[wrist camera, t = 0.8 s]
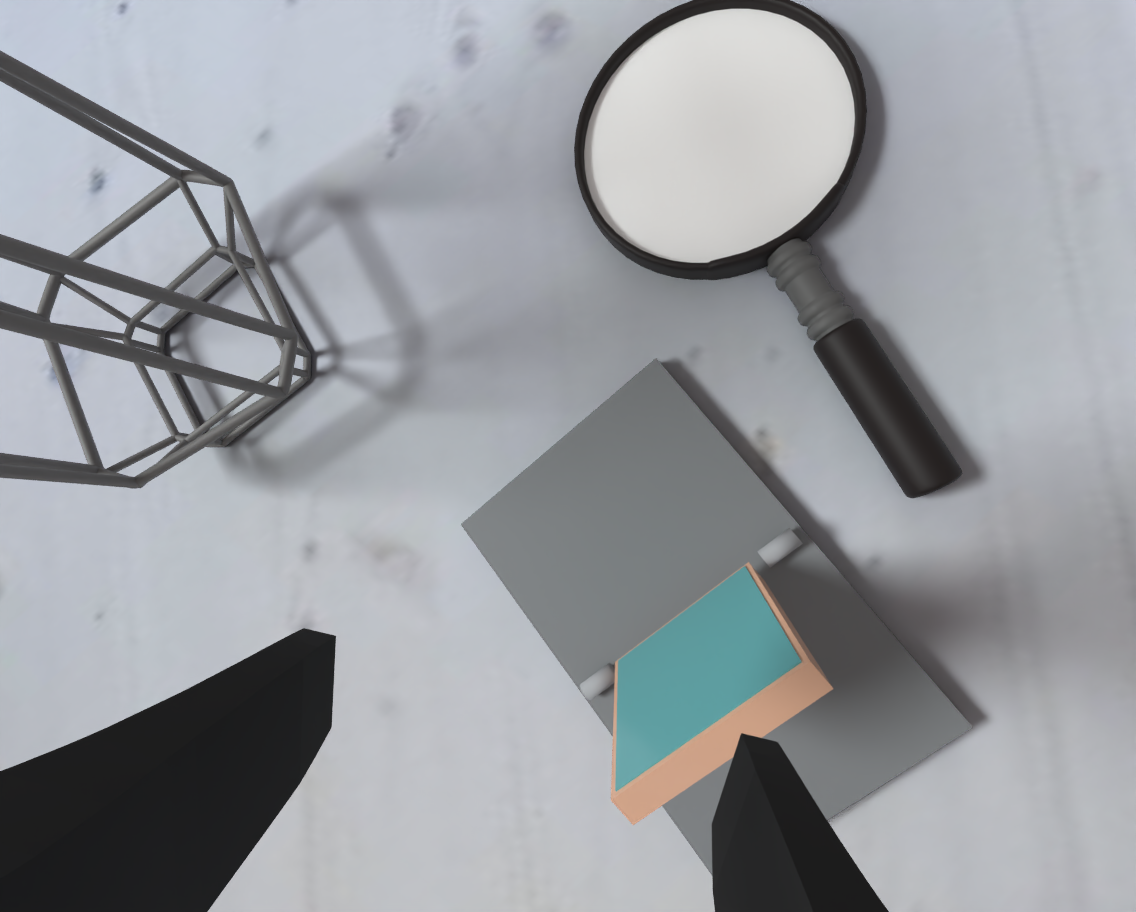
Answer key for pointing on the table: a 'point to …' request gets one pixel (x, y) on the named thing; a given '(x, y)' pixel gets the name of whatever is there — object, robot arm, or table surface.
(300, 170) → the table surface
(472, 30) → the table surface
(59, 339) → the geometric lantern
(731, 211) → the magnifying glass
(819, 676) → the tile
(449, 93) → the table surface
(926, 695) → the mat
